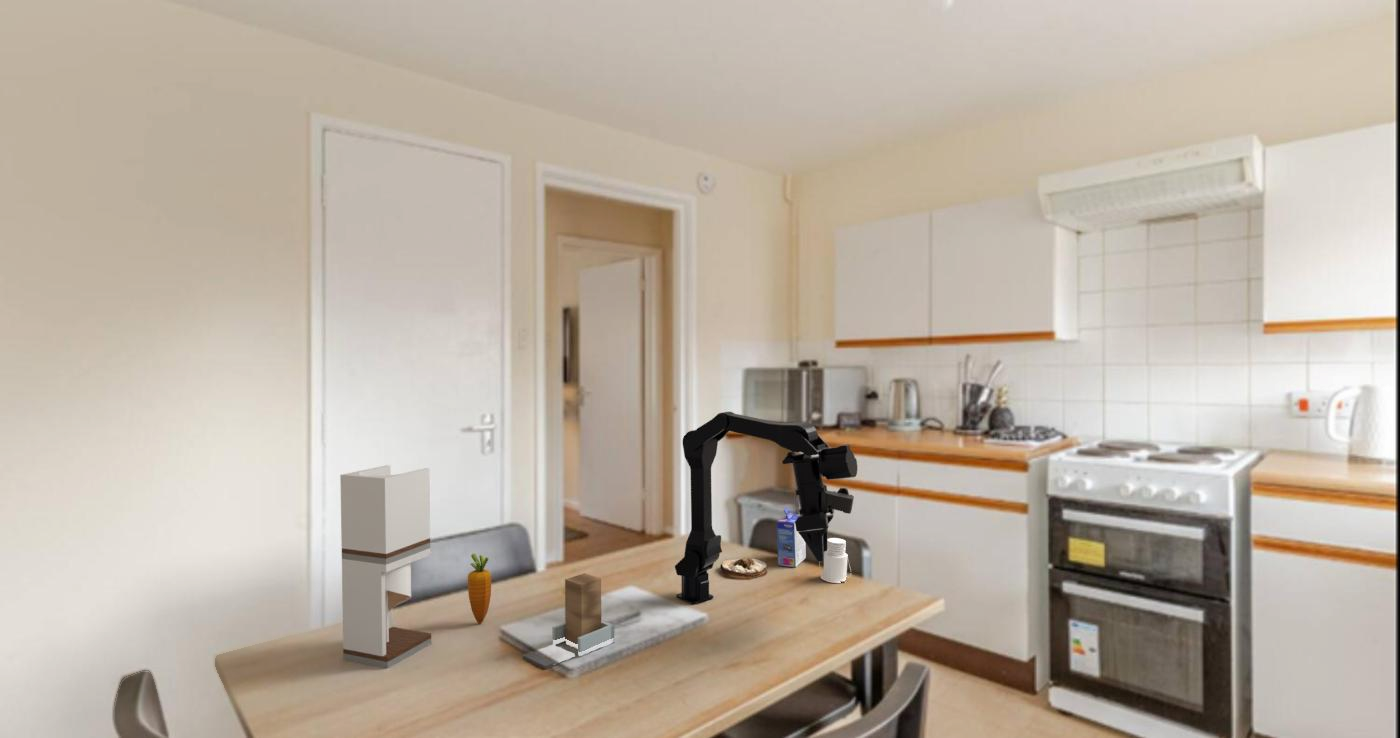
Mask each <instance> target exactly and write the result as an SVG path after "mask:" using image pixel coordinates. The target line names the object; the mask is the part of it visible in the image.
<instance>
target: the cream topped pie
mask: <svg viewBox="0 0 1400 738" xmlns="http://www.w3.org/2000/svg"><path fill="white" fill-rule="evenodd" d="M768 566H769V565H768V564H767V563H766V562H764V561H763V560H760V559H758V558H751V557H750V558H748V557H744V558H743V557H742V558H729V559H725V560H723V561H722V562H721V564H720V567H719V569H720V571H721V572H719V573H722V574H723V575H722V577H725V578H729V579H734V580H735V579H737V580H752V579H758V578H762V577H766V575H767V573H768V568H769V567H768Z"/></svg>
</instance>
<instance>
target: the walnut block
mask: <svg viewBox="0 0 1400 738" xmlns="http://www.w3.org/2000/svg"><path fill="white" fill-rule="evenodd" d="M564 596H565V597H564V599H565V600H564V602H565V603H564V609H565V610H564V612H565V613H564V614H565V615H564V616H565V617H564V618H565V621H564V623H565V639H567V640H569V641H571V642H573V643H575V644H578V637H581V636H583V635H586V634H588V633H591V632H593V631H596V630H598V629H601V620H602V577H598V576H594V575H591V574H589V573H585V572H584V573H581V574H578V575H575V576H571V577H568V578H565V579H564Z"/></svg>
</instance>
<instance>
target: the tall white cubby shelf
mask: <svg viewBox="0 0 1400 738" xmlns="http://www.w3.org/2000/svg"><path fill="white" fill-rule="evenodd" d="M339 477H340V517H341V518H340V527H341V529H340V532H341V537H340V539H341V540H340V541H341V587H342V588H341V590H342V591H341V593H342V594H341V595H342V596H341V597H342V603H341V604H342V644H343V645H342V647H343V648H342V651H343V654H342V655H343V657H342V658H343V660H344V661H350V662H354V663H360V664H364V665H365V664H366V665H370V666H375V667H379V668H383V669H389V668H390V667H391V668H392V667H393V666H394V665H396V664H399V662H402V661H403V660H405V659H407V658H409V657H410V656H413V655H414V654H416V653H418V652H419V651H421V650H423V649H425V648H427V647H428V646H430V645H431V644H432V633H430V632H425V631H419V630H415V629H414V630H413V629H408V628H404V627H403V628H402V627H397V626H394V623H393V621H394V619H393V616H394V615H393V608H396V607H398V606H399V605H401V604H403V603H405V602H407V601H409V600H410V599H412V569H411V567H412V565H411V563H413V562H416V561H419V560H421V559H424V558H426V557H429V556H431V511H430V510H431V505H430V504H431V501H430V500H431V499H430V498H431V497H430V496H431V495H430V468H428V467H425V468H420V469H416V470H412V471H407V472H403V473H397V474H396V473H395V474H391V465H388V464H386V465H382V466H381V465H380V466H376V467H373V468H372V467H371V468H367V469H363V470H357V471H352V472H348V473H343V474H340V476H339Z"/></svg>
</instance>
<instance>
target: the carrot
mask: <svg viewBox="0 0 1400 738" xmlns="http://www.w3.org/2000/svg"><path fill="white" fill-rule="evenodd" d="M470 557H471V558H472V560H473V561H474V562H471V563H470V566H471V567H473V568H474V570H472V571H470V572H469V573H468V575H467V590H468V591H467V592H468V600H469V604H470V609H471V612H472V614H473V617H474V619H475V621H476V622H477V623H478V624H479V625H481V624H482V623H483V622H484V620H485V618H486V616H487V613H488V610H489V607H490V603H491V597H492V574H491V572H490V570H488V569H485V567H486V565H487V563H488V562H489V559H490V557H488V556H486V557H485V558H484V556H483V555H481V554H480V555H479V556H477V554H476V553H472V554H471V555H470ZM478 557H479V558H478Z"/></svg>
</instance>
